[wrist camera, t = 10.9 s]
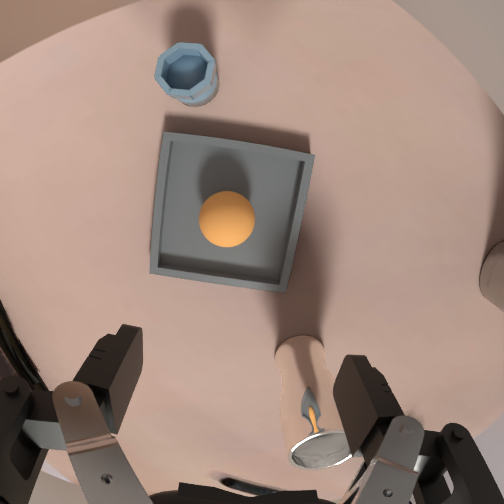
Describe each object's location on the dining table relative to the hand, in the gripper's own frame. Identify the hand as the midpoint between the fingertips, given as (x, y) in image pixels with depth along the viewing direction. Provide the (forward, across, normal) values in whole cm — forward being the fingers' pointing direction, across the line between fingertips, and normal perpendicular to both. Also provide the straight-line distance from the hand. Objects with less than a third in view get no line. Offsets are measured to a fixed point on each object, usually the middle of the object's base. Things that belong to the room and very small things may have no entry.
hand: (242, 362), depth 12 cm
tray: (+21, +2, -1) cm, 21 cm away
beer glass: (+21, -9, +15) cm, 28 cm away
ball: (+18, +2, -1) cm, 18 cm away
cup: (+21, +7, -13) cm, 26 cm away
